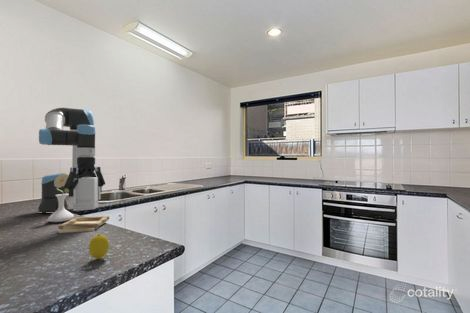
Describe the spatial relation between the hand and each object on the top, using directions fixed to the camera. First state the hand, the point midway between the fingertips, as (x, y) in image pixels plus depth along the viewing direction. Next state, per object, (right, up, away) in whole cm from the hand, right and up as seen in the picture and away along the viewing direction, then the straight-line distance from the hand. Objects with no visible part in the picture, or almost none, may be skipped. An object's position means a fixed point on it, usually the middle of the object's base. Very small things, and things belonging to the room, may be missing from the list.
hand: (86, 201), depth 115 cm
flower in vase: (-18, -12, +9) cm, 23 cm away
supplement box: (0, -4, 0) cm, 4 cm away
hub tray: (0, -12, 0) cm, 12 cm away
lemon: (+29, -11, -39) cm, 50 cm away
